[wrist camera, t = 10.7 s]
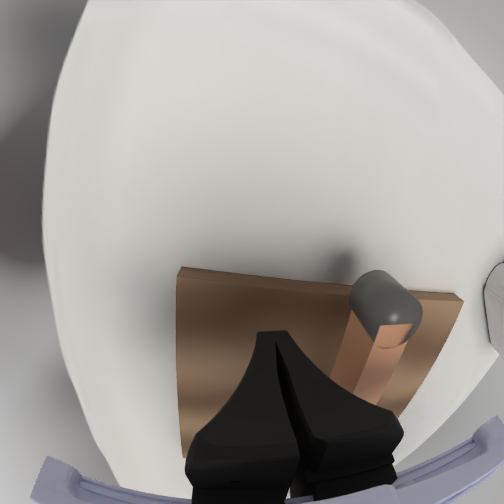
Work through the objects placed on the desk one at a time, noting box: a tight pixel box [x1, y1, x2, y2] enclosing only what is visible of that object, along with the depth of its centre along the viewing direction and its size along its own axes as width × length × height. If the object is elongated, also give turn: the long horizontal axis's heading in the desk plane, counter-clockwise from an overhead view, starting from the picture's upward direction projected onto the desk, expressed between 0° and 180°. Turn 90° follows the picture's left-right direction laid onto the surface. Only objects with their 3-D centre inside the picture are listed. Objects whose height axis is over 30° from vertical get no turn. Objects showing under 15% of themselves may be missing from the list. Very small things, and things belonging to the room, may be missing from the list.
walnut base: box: [176, 267, 464, 458], centre depth 16 cm, size 18×18×2 cm
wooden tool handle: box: [330, 270, 423, 405], centre depth 11 cm, size 14×5×4 cm, turn 175°
